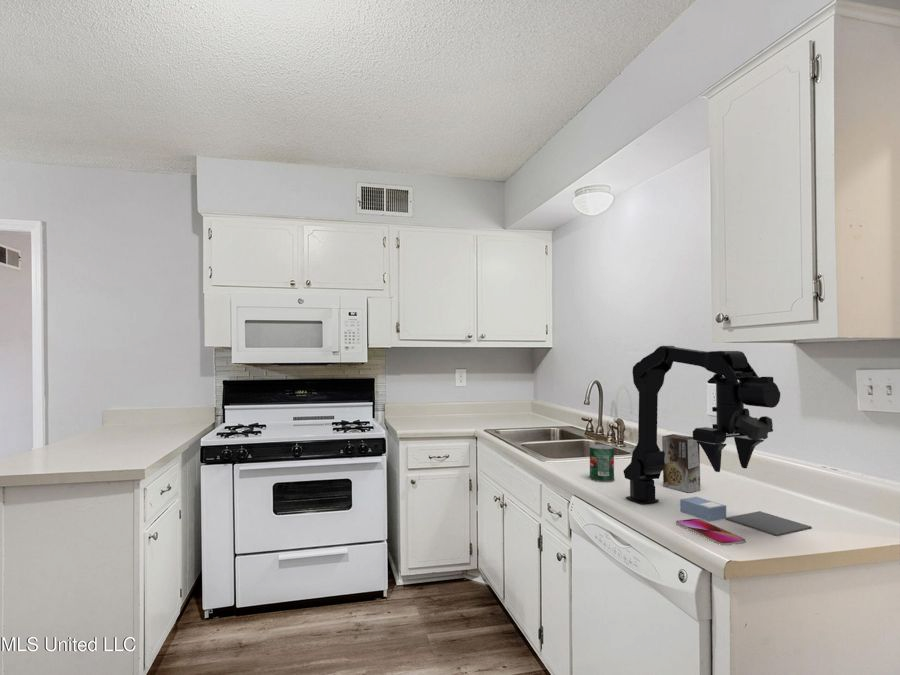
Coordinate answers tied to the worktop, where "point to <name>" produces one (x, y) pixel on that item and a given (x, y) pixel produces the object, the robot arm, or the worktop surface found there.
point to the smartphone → (710, 532)
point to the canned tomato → (602, 463)
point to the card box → (703, 508)
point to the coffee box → (681, 463)
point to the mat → (768, 523)
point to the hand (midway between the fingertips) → (730, 469)
